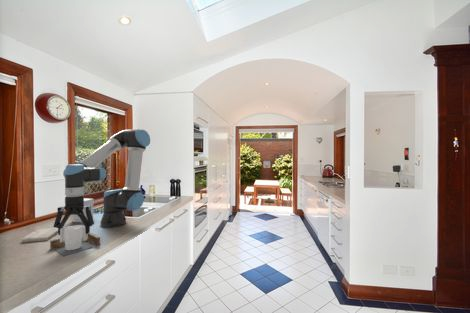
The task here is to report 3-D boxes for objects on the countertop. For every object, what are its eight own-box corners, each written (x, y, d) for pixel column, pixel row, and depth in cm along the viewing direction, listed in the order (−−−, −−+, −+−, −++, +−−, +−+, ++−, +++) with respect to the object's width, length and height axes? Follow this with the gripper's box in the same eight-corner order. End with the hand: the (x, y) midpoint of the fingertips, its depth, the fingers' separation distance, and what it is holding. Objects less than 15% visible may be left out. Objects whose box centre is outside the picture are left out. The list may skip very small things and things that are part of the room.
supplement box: (93, 219, 154) (94, 198, 154) (83, 222, 146) (83, 201, 146) (83, 218, 156) (83, 197, 156) (71, 222, 147) (72, 200, 147)
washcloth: (63, 230, 132) (63, 225, 132) (48, 241, 115) (48, 235, 115) (40, 232, 128) (40, 227, 128) (20, 244, 111) (20, 238, 111)
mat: (83, 241, 114) (83, 241, 114) (92, 247, 107) (92, 246, 107) (54, 249, 104) (54, 248, 104) (63, 256, 97) (63, 255, 97)
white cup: (70, 252, 100) (70, 230, 101) (59, 249, 103) (60, 228, 103) (87, 245, 108) (87, 226, 108) (77, 243, 111) (77, 224, 111)
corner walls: (88, 238, 118) (88, 231, 118) (100, 244, 110) (100, 237, 110) (50, 248, 105) (50, 240, 105) (60, 256, 97) (60, 248, 97)
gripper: (43, 197, 100) (43, 245, 100) (95, 196, 104) (95, 242, 104) (54, 194, 107) (53, 238, 107) (102, 193, 111) (101, 236, 111)
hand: (74, 240), depth 105 cm, fingers open, 9 cm apart
